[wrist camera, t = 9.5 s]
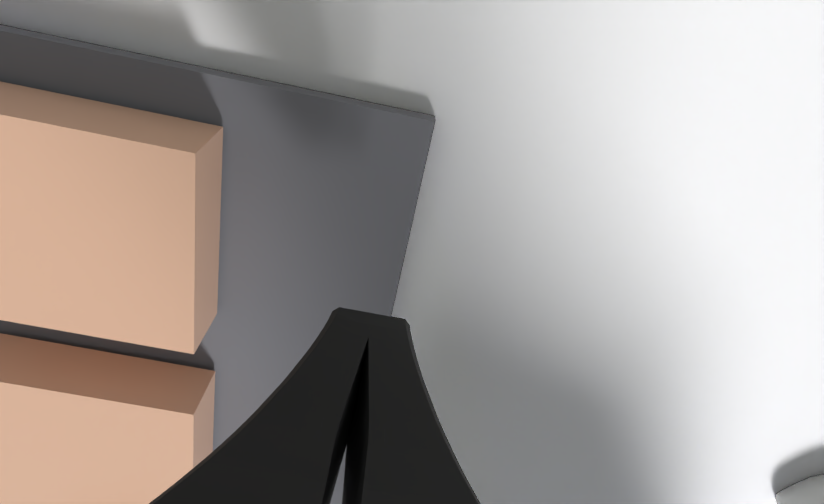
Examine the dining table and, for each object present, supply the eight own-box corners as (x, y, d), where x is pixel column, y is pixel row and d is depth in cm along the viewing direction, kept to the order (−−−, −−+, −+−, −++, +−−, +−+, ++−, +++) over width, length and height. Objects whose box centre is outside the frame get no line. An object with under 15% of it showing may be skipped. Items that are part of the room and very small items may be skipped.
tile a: (193, 415, 14) (-56, 372, 14) (192, 534, 17) (-19, 501, 16) (217, 367, 16) (-7, 327, 15) (213, 483, 18) (20, 451, 18)
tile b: (195, 153, 11) (-138, 86, 10) (193, 354, 13) (-75, 306, 13) (225, 124, 12) (-64, 65, 12) (219, 309, 15) (-21, 265, 14)
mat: (435, 115, 12) (434, 121, 12) (345, 513, 19) (343, 523, 19) (-247, -28, 11) (-269, -26, 11) (-82, 443, 18) (-92, 454, 18)
